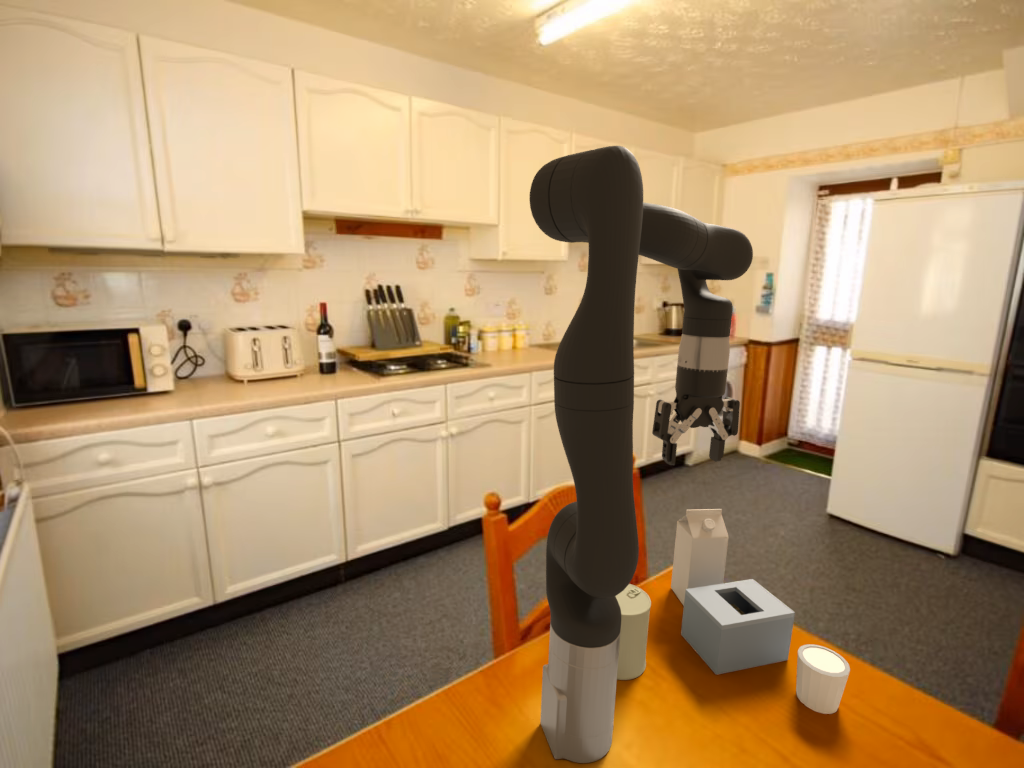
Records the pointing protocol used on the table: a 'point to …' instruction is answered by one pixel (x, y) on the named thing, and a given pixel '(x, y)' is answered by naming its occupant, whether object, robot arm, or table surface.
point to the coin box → (737, 625)
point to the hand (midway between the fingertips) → (692, 461)
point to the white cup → (820, 678)
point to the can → (633, 632)
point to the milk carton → (699, 551)
